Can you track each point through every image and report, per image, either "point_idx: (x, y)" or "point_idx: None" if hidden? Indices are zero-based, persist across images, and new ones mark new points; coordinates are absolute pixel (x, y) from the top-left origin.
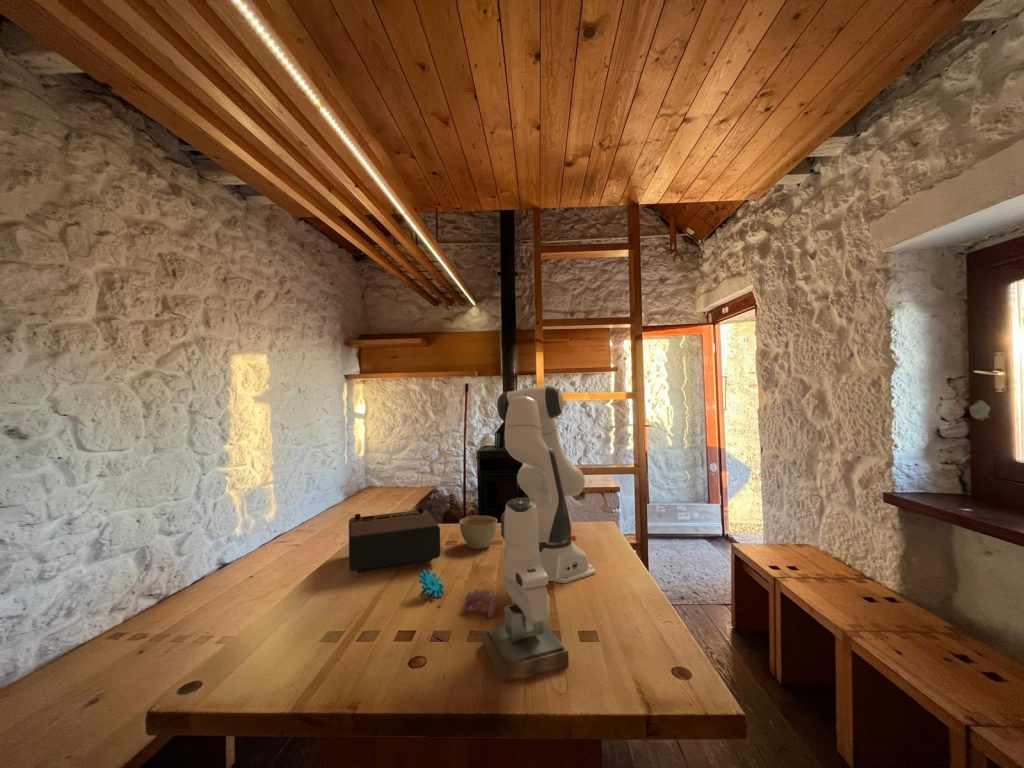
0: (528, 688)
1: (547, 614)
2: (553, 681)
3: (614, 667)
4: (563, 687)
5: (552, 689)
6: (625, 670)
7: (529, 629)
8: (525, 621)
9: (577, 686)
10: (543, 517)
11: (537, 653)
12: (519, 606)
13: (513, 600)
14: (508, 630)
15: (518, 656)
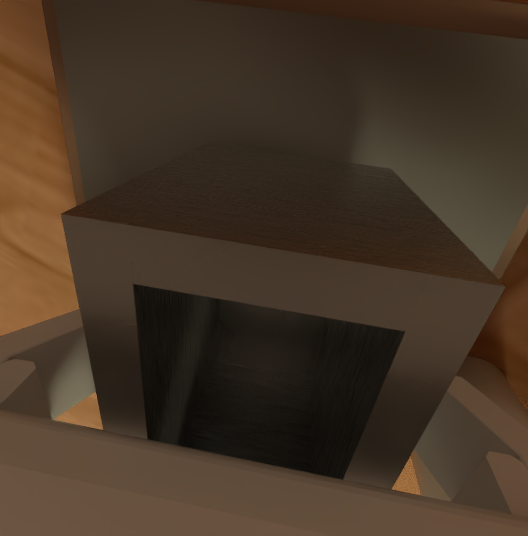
0: (38, 99)
1: (413, 465)
2: (62, 227)
3: (86, 411)
4: (21, 238)
5: (16, 195)
6: (66, 421)
7: None
8: (82, 324)
9: (19, 281)
10: None
11: None
12: (29, 462)
13: (429, 504)
14: (293, 164)
15: (94, 116)
